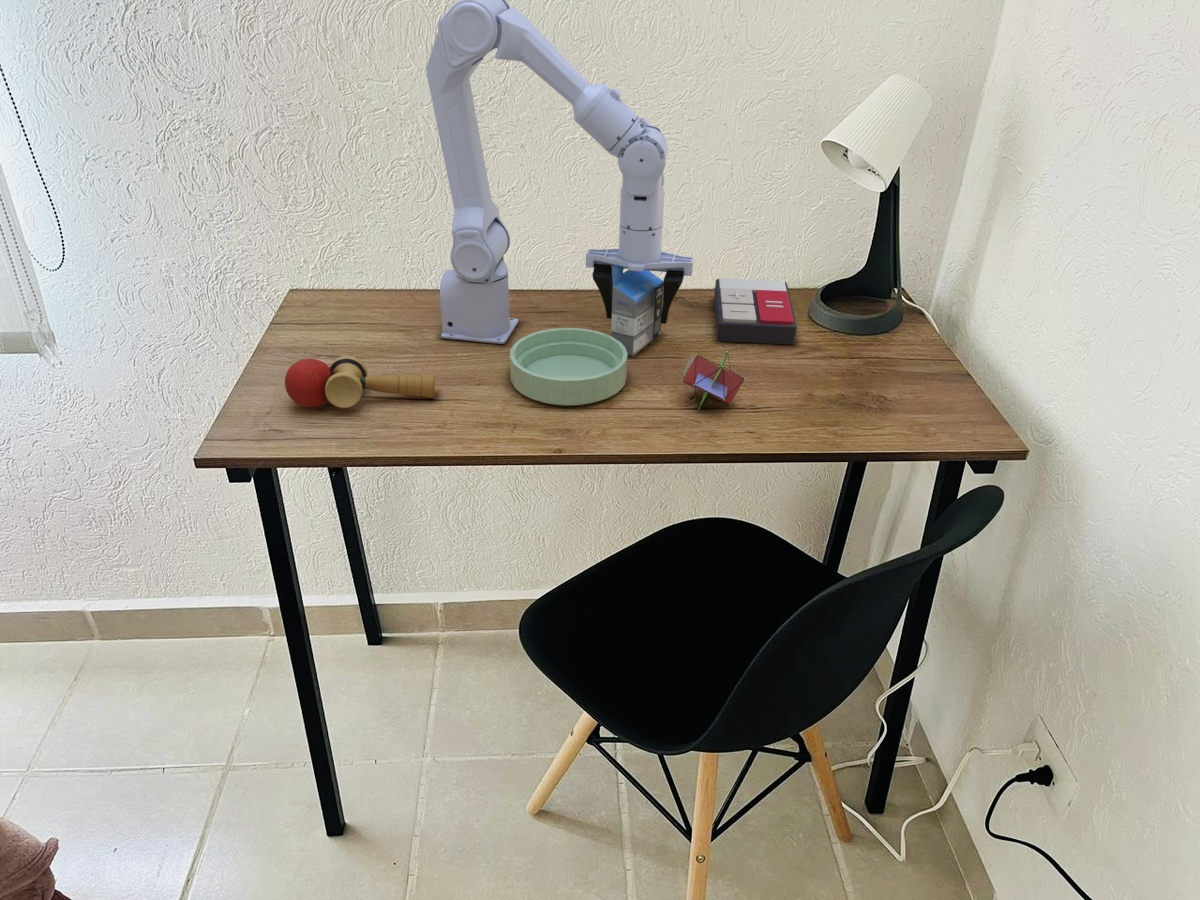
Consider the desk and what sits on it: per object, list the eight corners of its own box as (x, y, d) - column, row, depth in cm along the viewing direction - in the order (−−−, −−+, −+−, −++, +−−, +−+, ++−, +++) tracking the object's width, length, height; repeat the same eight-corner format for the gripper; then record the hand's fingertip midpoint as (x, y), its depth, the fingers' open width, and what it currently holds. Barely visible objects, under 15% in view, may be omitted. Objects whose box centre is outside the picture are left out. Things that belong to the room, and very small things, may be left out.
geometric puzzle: (757, 380, 117) (724, 330, 114) (751, 406, 111) (716, 353, 109) (710, 404, 120) (677, 355, 118) (702, 429, 115) (667, 379, 112)
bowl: (497, 401, 115) (495, 373, 113) (527, 349, 128) (526, 323, 126) (615, 414, 113) (616, 386, 111) (634, 360, 126) (635, 333, 124)
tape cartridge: (633, 358, 126) (637, 273, 120) (608, 351, 128) (610, 267, 121) (661, 334, 133) (666, 253, 126) (638, 328, 135) (641, 248, 128)
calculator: (719, 318, 129) (716, 273, 141) (717, 345, 132) (713, 299, 144) (798, 322, 129) (787, 276, 141) (794, 348, 131) (783, 302, 143)
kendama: (432, 388, 121) (289, 380, 117) (435, 349, 117) (287, 339, 112) (433, 426, 115) (282, 419, 111) (436, 387, 111) (280, 378, 107)
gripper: (581, 229, 119) (581, 325, 126) (692, 238, 117) (685, 335, 124) (591, 212, 125) (590, 305, 132) (697, 220, 123) (690, 314, 130)
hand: (637, 318), depth 128 cm, fingers open, 7 cm apart
